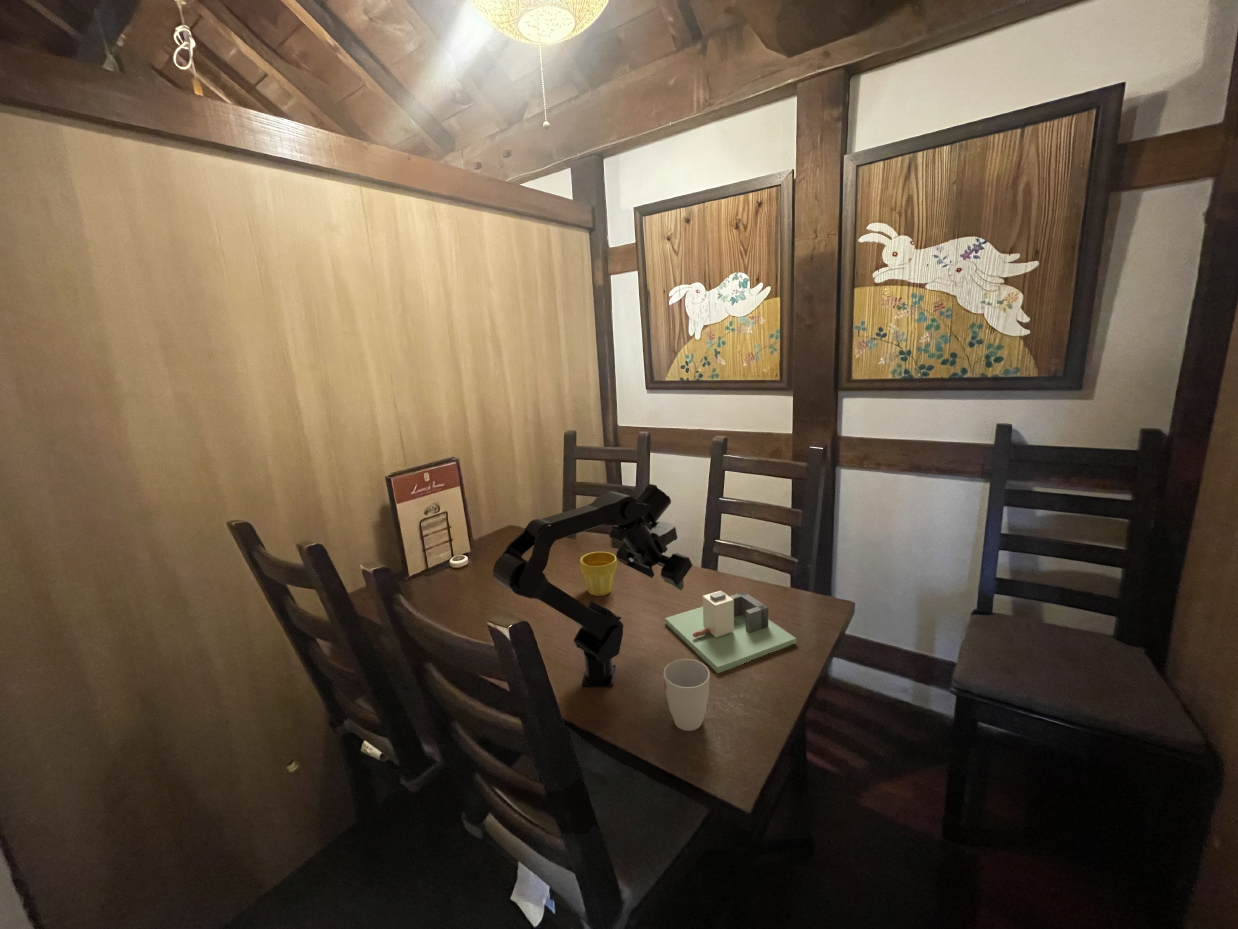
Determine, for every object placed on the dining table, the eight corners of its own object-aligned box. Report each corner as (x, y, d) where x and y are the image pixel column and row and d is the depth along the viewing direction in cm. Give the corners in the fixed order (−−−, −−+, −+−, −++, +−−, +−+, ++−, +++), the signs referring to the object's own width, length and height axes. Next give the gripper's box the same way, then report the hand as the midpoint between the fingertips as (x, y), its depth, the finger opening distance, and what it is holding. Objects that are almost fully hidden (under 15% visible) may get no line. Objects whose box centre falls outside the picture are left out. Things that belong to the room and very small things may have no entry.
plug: (699, 643, 111) (698, 607, 109) (687, 632, 115) (686, 597, 113) (733, 631, 114) (733, 596, 112) (721, 621, 119) (720, 587, 117)
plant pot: (625, 586, 143) (623, 554, 141) (606, 602, 135) (603, 569, 133) (595, 579, 149) (592, 548, 146) (575, 594, 140) (572, 562, 138)
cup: (681, 699, 96) (679, 653, 94) (718, 716, 91) (717, 668, 89) (657, 724, 90) (654, 676, 88) (696, 744, 85) (694, 694, 83)
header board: (717, 673, 103) (717, 663, 103) (665, 623, 123) (665, 615, 122) (796, 644, 111) (796, 635, 111) (735, 601, 131) (735, 593, 130)
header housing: (749, 633, 114) (749, 613, 113) (726, 615, 122) (726, 597, 121) (768, 626, 116) (768, 607, 115) (744, 610, 124) (744, 591, 123)
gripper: (692, 520, 103) (717, 567, 111) (631, 503, 117) (658, 546, 125) (661, 561, 98) (690, 606, 107) (601, 538, 112) (631, 580, 120)
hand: (666, 582), depth 115 cm, fingers open, 9 cm apart
